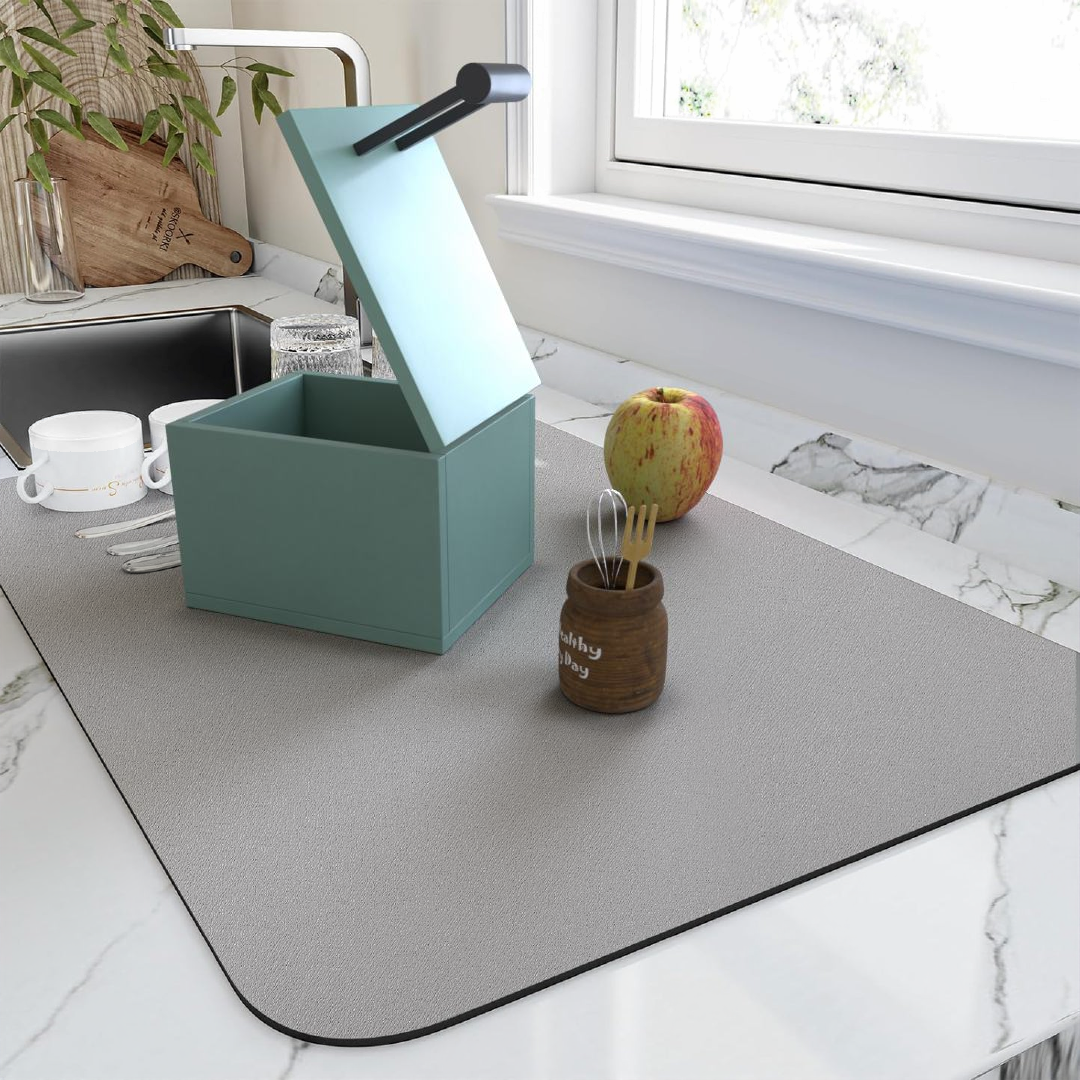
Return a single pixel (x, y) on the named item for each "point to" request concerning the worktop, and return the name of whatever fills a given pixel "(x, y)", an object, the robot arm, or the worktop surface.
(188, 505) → the teal storage box
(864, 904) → the worktop surface
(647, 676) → the utensil holder
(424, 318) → the lid
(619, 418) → the apple
